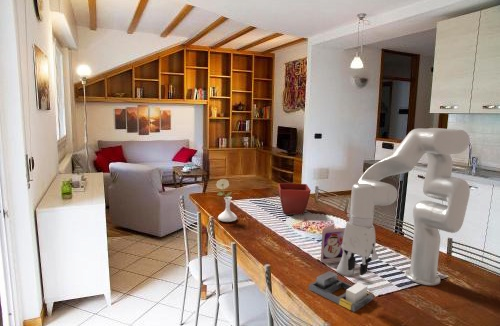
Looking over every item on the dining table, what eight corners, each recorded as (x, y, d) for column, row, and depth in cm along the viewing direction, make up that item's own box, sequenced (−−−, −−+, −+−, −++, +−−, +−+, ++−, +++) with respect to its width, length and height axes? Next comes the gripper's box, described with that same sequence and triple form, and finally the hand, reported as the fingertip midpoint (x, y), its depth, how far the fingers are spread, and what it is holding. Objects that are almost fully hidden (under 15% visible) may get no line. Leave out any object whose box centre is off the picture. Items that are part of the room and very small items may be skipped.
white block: (357, 295, 126) (358, 282, 125) (366, 299, 123) (367, 286, 123) (345, 303, 121) (346, 289, 120) (354, 307, 118) (355, 293, 117)
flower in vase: (238, 218, 211) (239, 177, 208) (235, 224, 200) (236, 181, 196) (217, 216, 213) (217, 176, 209) (213, 222, 201) (213, 180, 198)
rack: (328, 279, 137) (328, 267, 136) (372, 299, 123) (374, 286, 122) (308, 289, 129) (309, 276, 128) (354, 312, 115) (355, 298, 114)
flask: (340, 266, 149) (342, 244, 147) (356, 271, 144) (358, 248, 143) (332, 272, 143) (334, 249, 142) (349, 278, 139) (351, 254, 137)
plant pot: (309, 216, 219) (311, 190, 216) (279, 215, 219) (280, 189, 216) (305, 208, 238) (306, 183, 235) (277, 207, 238) (278, 183, 235)
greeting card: (321, 263, 151) (323, 230, 149) (313, 256, 158) (315, 224, 156) (344, 261, 154) (347, 228, 152) (336, 254, 162) (338, 223, 159)
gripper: (333, 216, 121) (330, 266, 123) (378, 229, 108) (374, 284, 111) (345, 212, 126) (342, 260, 128) (390, 224, 113) (385, 277, 116)
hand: (357, 271), depth 120 cm, fingers open, 3 cm apart
